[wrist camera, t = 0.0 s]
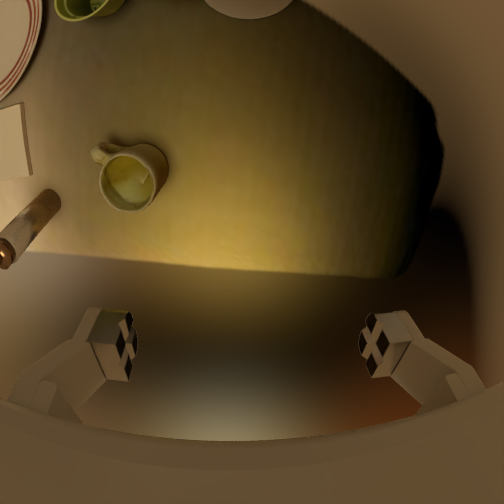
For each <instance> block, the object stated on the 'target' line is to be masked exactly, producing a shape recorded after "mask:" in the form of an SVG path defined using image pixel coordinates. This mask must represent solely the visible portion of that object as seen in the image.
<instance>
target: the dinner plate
mask: <svg viewBox="0 0 504 504" xmlns="http://www.w3.org/2000/svg"><path fill="white" fill-rule="evenodd" d="M41 21H42V0H0V100H2V99H3V98H4V97H5V96H6V95H7V94H8V93H9V92H10V91H11V90H12V88H13V87H14V86H15V84H16V83H17V82H18V80H19V79H20V77H21V75H22V74H23V72H24V70H25V69H26V67H27V65H28V63H29V61H30V58H31V56H32V54H33V51H34V49H35V46H36V43H37V39H38V36H39V32H40V27H41Z"/></svg>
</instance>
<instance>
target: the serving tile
mask: <svg viewBox="0 0 504 504" xmlns="http://www.w3.org/2000/svg"><path fill="white" fill-rule="evenodd" d="M32 174H33V172H32V166H31V161H30V154H29V148H28V141H27V133H26V124H25V114H24V103H20V104H17V105H13V106H10V107H7V108H4V109H1V110H0V180H5V179H12V178H19V177H27V176H31V175H32Z"/></svg>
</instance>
